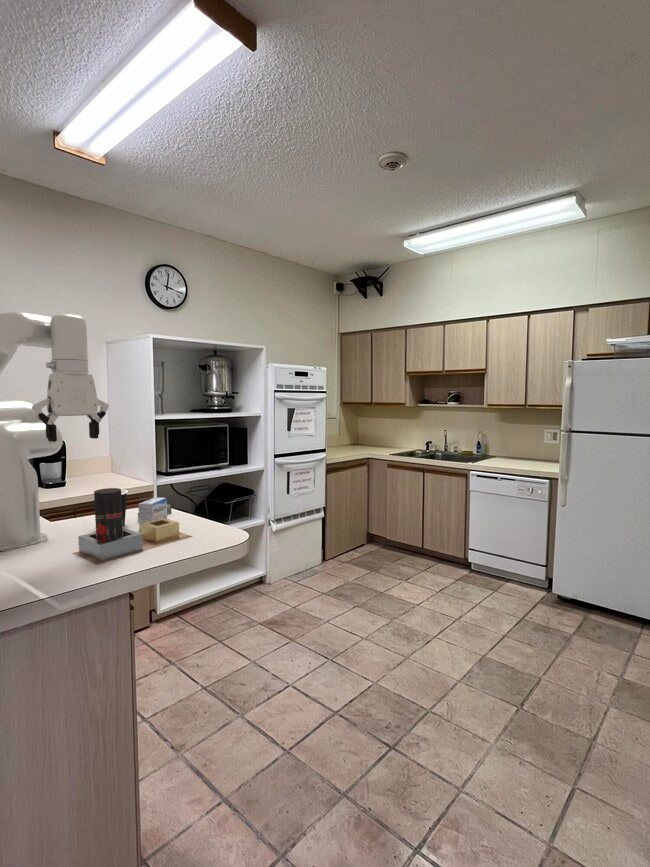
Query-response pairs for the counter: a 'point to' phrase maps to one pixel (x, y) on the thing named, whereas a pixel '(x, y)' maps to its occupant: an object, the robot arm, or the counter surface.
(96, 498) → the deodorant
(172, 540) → the fitting board
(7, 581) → the counter surface
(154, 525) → the tan wooden open box
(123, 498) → the dixie cup
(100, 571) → the counter surface
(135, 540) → the grey open tray
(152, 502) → the medicine box
